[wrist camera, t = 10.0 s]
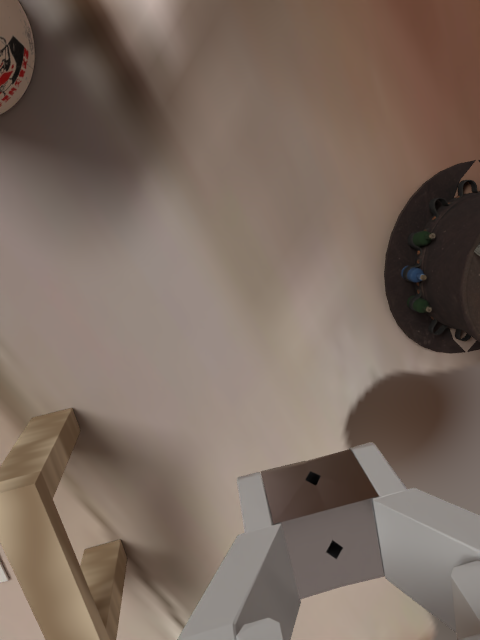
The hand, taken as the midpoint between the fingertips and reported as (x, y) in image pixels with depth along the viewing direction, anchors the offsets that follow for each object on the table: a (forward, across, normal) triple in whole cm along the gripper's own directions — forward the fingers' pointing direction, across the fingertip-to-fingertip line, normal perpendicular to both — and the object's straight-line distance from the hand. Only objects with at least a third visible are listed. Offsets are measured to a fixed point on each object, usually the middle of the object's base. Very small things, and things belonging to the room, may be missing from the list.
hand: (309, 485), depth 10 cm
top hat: (+25, -19, +4) cm, 31 cm away
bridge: (+23, +15, +14) cm, 31 cm away
